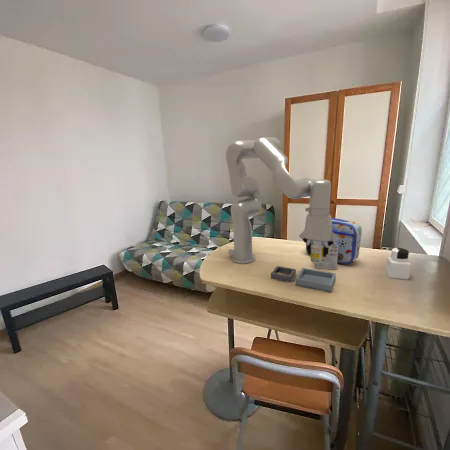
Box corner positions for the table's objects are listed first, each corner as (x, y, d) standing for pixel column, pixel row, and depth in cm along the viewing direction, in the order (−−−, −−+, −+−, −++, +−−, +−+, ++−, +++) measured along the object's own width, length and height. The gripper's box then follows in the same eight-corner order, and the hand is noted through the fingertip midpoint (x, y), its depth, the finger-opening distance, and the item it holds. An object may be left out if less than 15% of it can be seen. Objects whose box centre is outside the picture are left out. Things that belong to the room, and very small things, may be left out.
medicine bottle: (404, 272, 116) (407, 247, 113) (409, 279, 109) (413, 253, 106) (385, 270, 118) (388, 245, 115) (389, 278, 112) (392, 251, 108)
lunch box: (300, 254, 142) (301, 214, 136) (310, 249, 148) (312, 211, 143) (352, 268, 122) (356, 223, 116) (361, 261, 129) (365, 218, 123)
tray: (295, 285, 109) (295, 278, 108) (302, 273, 119) (302, 267, 118) (331, 292, 102) (331, 285, 101) (335, 279, 112) (335, 273, 111)
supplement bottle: (313, 264, 105) (313, 241, 103) (308, 259, 110) (308, 237, 108) (326, 262, 105) (327, 240, 103) (320, 258, 111) (321, 236, 108)
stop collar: (270, 278, 116) (270, 273, 115) (276, 270, 123) (276, 265, 123) (290, 282, 111) (290, 277, 111) (295, 274, 119) (296, 269, 118)
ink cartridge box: (335, 264, 127) (337, 236, 123) (337, 269, 122) (339, 240, 118) (313, 264, 129) (315, 236, 125) (315, 268, 124) (316, 239, 120)
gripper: (294, 212, 104) (294, 254, 108) (341, 215, 95) (338, 261, 100) (299, 208, 110) (298, 249, 115) (344, 210, 102) (341, 254, 106)
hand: (317, 254), depth 107 cm, fingers closed on supplement bottle, 5 cm apart
